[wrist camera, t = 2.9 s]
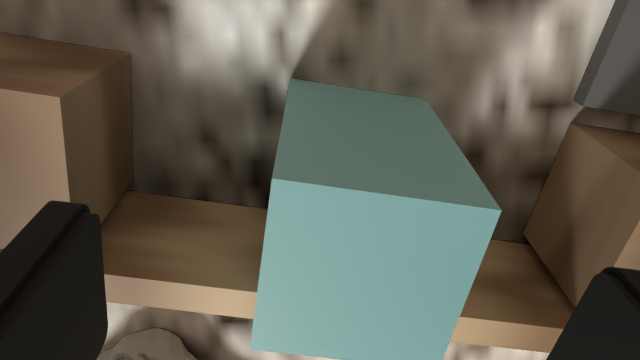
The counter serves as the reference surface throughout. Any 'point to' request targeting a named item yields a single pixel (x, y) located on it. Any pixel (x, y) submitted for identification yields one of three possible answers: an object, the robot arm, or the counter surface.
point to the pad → (615, 63)
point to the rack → (249, 223)
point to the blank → (367, 229)
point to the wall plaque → (148, 347)
